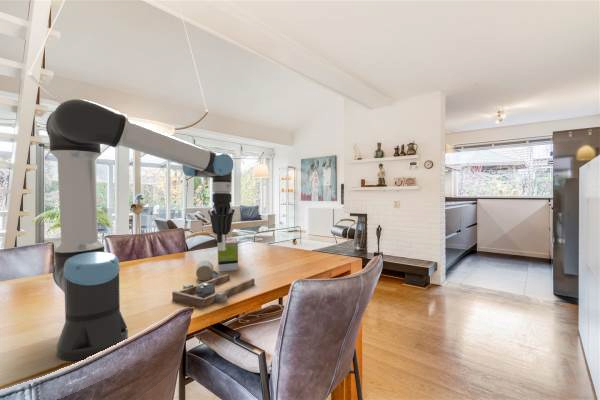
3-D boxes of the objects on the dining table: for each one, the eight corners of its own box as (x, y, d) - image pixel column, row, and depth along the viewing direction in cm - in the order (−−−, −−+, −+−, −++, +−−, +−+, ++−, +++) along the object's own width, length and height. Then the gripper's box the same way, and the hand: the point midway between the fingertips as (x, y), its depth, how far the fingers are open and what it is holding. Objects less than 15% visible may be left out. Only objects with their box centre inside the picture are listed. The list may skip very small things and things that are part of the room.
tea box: (217, 264, 161) (217, 238, 160) (235, 263, 164) (235, 237, 163) (218, 271, 146) (217, 242, 146) (238, 270, 149) (238, 241, 149)
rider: (204, 300, 107) (204, 288, 107) (192, 297, 111) (192, 285, 111) (219, 295, 113) (218, 282, 113) (206, 292, 117) (206, 280, 117)
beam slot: (206, 309, 99) (206, 300, 99) (168, 298, 109) (168, 290, 109) (258, 285, 125) (258, 278, 125) (224, 278, 135) (223, 272, 135)
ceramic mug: (195, 282, 130) (195, 265, 129) (196, 277, 137) (196, 260, 137) (220, 280, 133) (220, 263, 133) (219, 275, 141) (219, 259, 140)
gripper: (217, 192, 112) (216, 253, 112) (239, 193, 123) (239, 248, 123) (203, 192, 115) (202, 251, 115) (226, 193, 127) (226, 247, 127)
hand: (221, 250), depth 119 cm, fingers closed
